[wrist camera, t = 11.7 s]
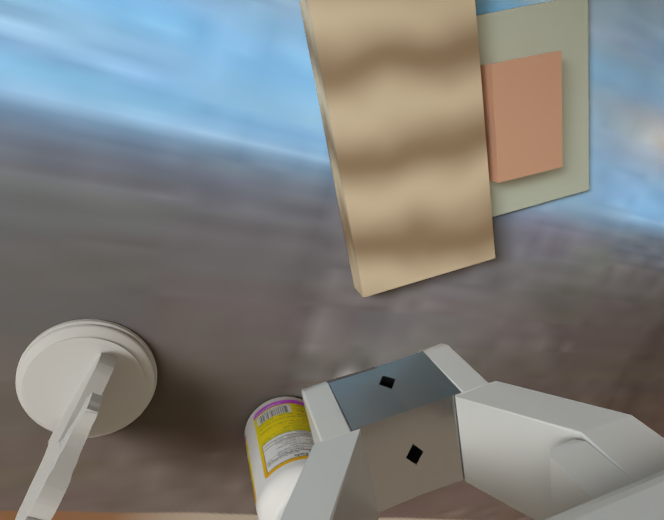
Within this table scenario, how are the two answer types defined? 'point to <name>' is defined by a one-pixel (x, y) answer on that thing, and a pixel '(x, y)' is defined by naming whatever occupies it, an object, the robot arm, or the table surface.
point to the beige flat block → (403, 135)
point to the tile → (523, 115)
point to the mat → (572, 40)
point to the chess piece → (79, 397)
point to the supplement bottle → (277, 452)
